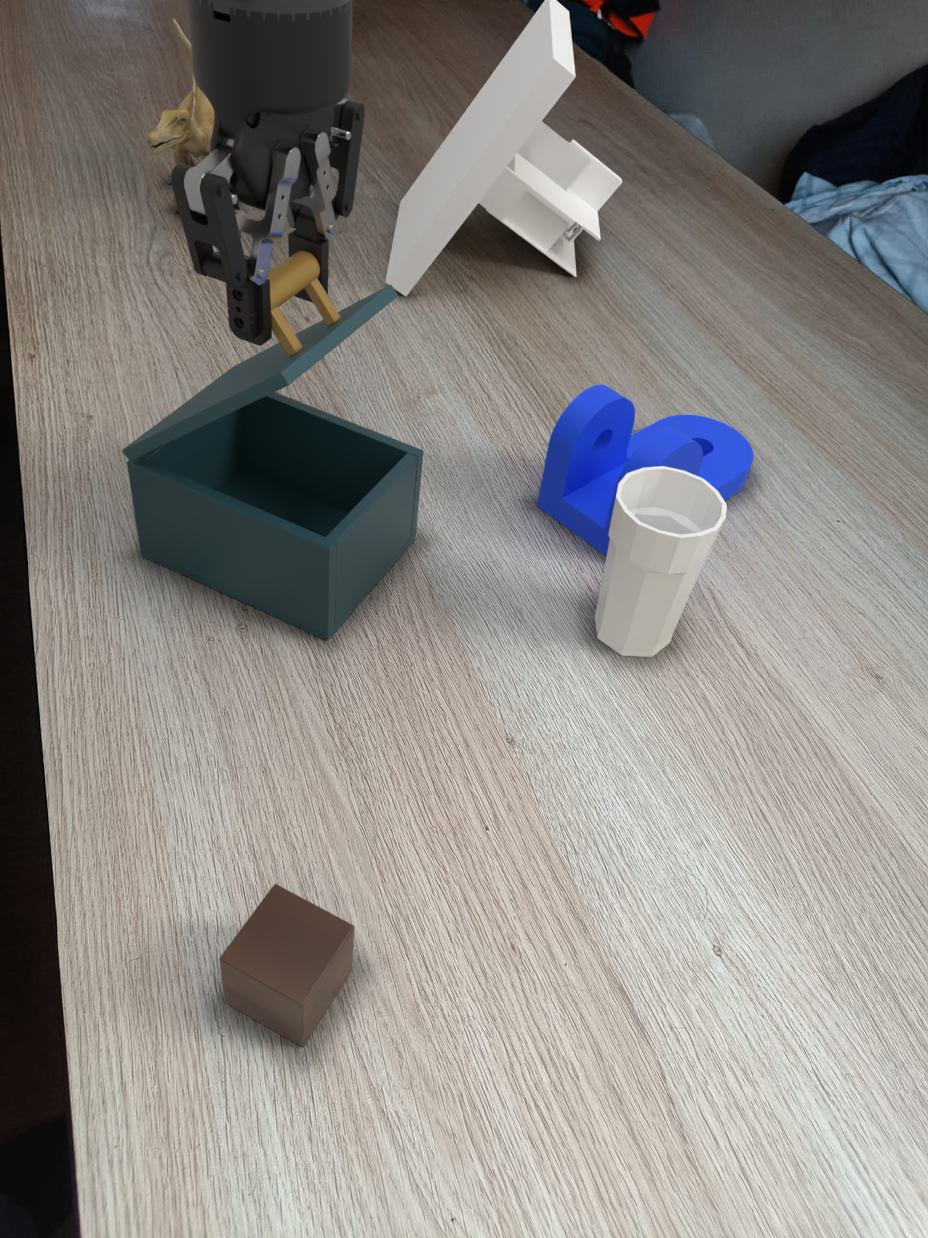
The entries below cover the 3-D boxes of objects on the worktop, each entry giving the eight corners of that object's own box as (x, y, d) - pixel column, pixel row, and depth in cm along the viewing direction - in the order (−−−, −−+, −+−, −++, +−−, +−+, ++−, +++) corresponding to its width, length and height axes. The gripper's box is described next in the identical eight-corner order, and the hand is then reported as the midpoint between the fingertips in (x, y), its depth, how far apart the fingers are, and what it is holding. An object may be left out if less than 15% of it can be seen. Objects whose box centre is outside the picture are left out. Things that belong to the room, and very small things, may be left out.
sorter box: (415, 540, 75) (424, 450, 70) (327, 641, 67) (329, 549, 62) (242, 467, 79) (237, 376, 73) (140, 555, 71) (126, 461, 66)
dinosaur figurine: (154, 246, 101) (138, 98, 91) (179, 135, 119) (168, 2, 110) (237, 250, 102) (229, 104, 92) (249, 139, 120) (244, 9, 111)
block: (303, 1048, 49) (302, 1006, 46) (224, 1003, 50) (218, 958, 47) (352, 970, 52) (355, 925, 49) (276, 929, 53) (274, 882, 50)
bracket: (620, 566, 75) (649, 464, 69) (536, 505, 79) (556, 403, 73) (766, 474, 85) (803, 377, 79) (685, 424, 89) (714, 327, 82)
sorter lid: (398, 295, 63) (352, 216, 61) (289, 385, 55) (232, 297, 53) (240, 376, 73) (196, 309, 71) (129, 461, 65) (76, 389, 63)
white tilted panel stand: (405, 177, 114) (548, -25, 100) (523, 264, 121) (673, 86, 107) (385, 282, 98) (553, 57, 84) (523, 376, 104) (700, 183, 90)
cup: (598, 583, 74) (632, 454, 66) (690, 614, 73) (736, 486, 65) (570, 645, 69) (603, 514, 62) (668, 679, 68) (714, 550, 60)
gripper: (289, -64, 54) (295, 253, 66) (97, -6, 45) (145, 351, 57) (418, -32, 52) (400, 288, 64) (245, 35, 43) (263, 397, 55)
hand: (280, 316), depth 60 cm, fingers closed on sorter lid, 5 cm apart
